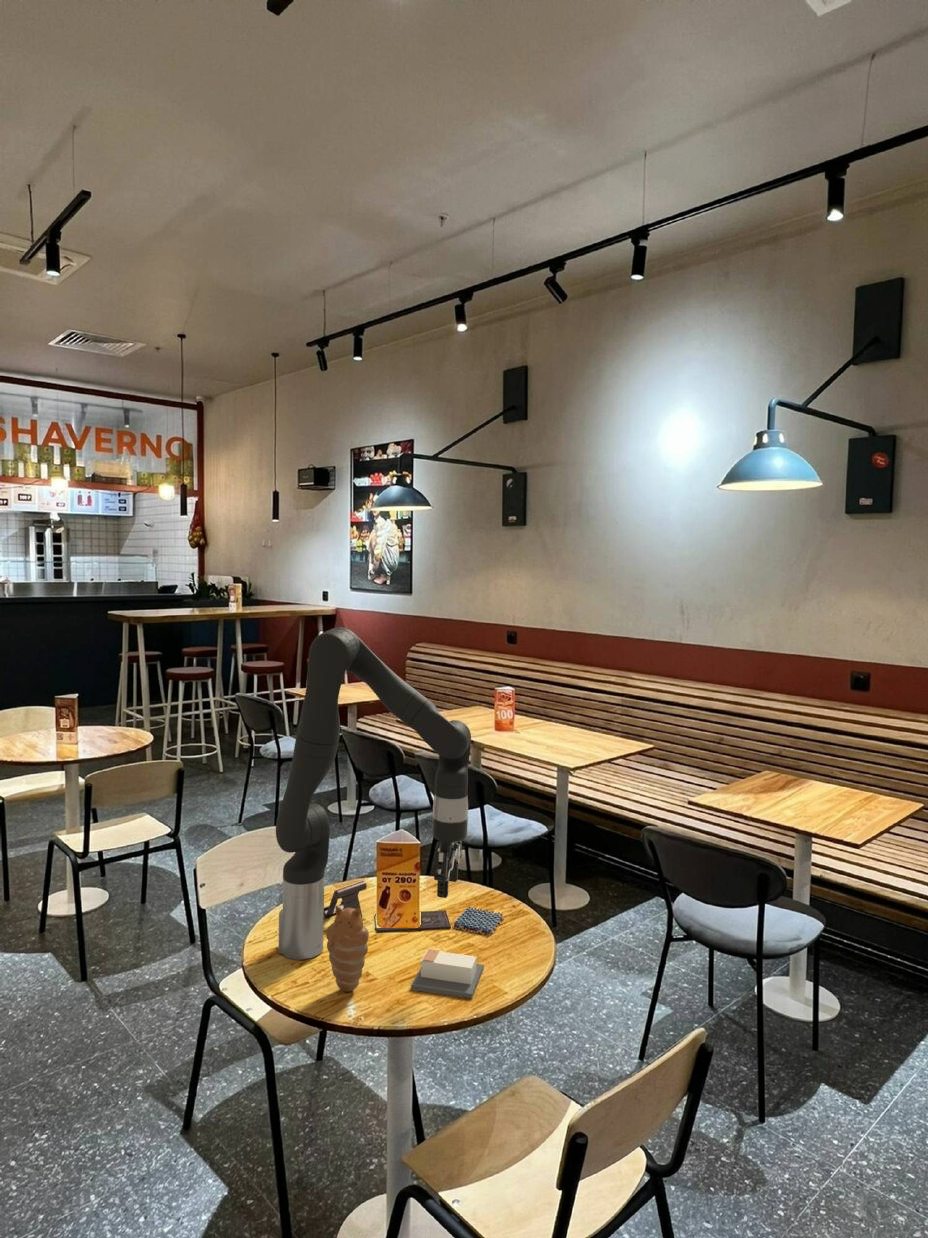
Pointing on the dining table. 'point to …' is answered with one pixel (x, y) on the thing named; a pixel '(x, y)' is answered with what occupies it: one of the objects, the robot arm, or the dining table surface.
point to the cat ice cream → (347, 947)
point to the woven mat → (478, 921)
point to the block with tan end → (448, 966)
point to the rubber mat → (447, 985)
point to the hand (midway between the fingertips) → (447, 888)
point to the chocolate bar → (424, 922)
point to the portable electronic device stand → (345, 898)
